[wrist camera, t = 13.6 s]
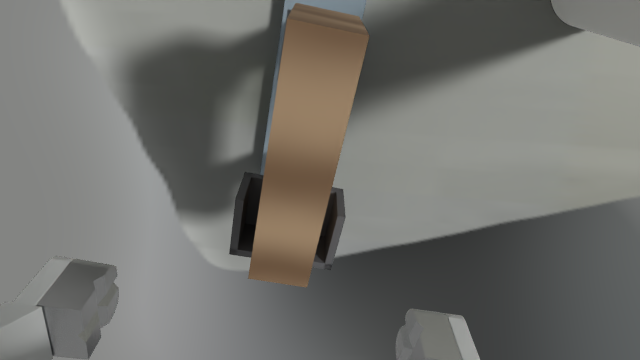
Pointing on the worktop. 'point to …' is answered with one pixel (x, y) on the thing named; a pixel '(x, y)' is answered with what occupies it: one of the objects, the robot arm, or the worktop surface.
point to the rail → (305, 139)
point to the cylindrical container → (603, 17)
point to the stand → (251, 185)
